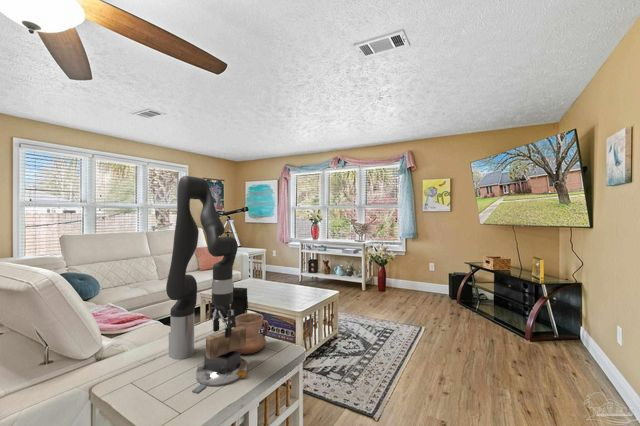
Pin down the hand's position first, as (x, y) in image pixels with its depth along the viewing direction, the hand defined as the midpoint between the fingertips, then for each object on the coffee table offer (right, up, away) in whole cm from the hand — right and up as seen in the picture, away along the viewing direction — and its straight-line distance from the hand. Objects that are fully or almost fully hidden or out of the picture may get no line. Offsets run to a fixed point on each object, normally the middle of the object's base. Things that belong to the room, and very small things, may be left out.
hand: (222, 334), depth 111 cm
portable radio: (-3, -15, +36) cm, 39 cm away
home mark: (-4, -15, -11) cm, 18 cm away
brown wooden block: (+6, -4, +7) cm, 10 cm away
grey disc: (0, -15, 0) cm, 15 cm away
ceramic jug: (+6, -15, +20) cm, 25 cm away
